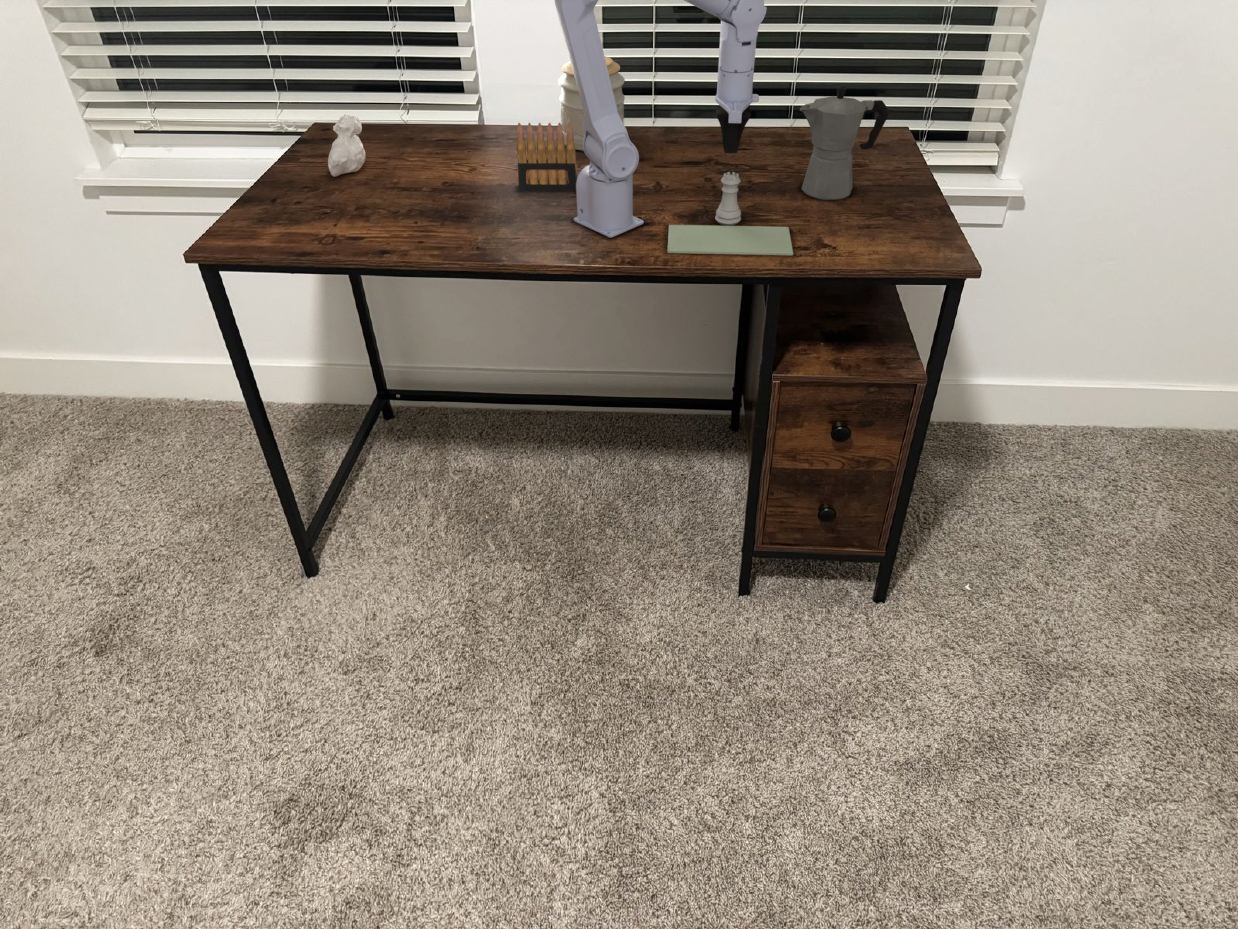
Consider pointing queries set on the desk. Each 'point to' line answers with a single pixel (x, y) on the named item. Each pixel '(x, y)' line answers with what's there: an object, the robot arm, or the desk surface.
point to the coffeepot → (837, 142)
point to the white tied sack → (346, 147)
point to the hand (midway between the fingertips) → (730, 151)
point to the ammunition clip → (546, 160)
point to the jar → (572, 102)
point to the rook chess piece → (729, 201)
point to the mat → (729, 240)
